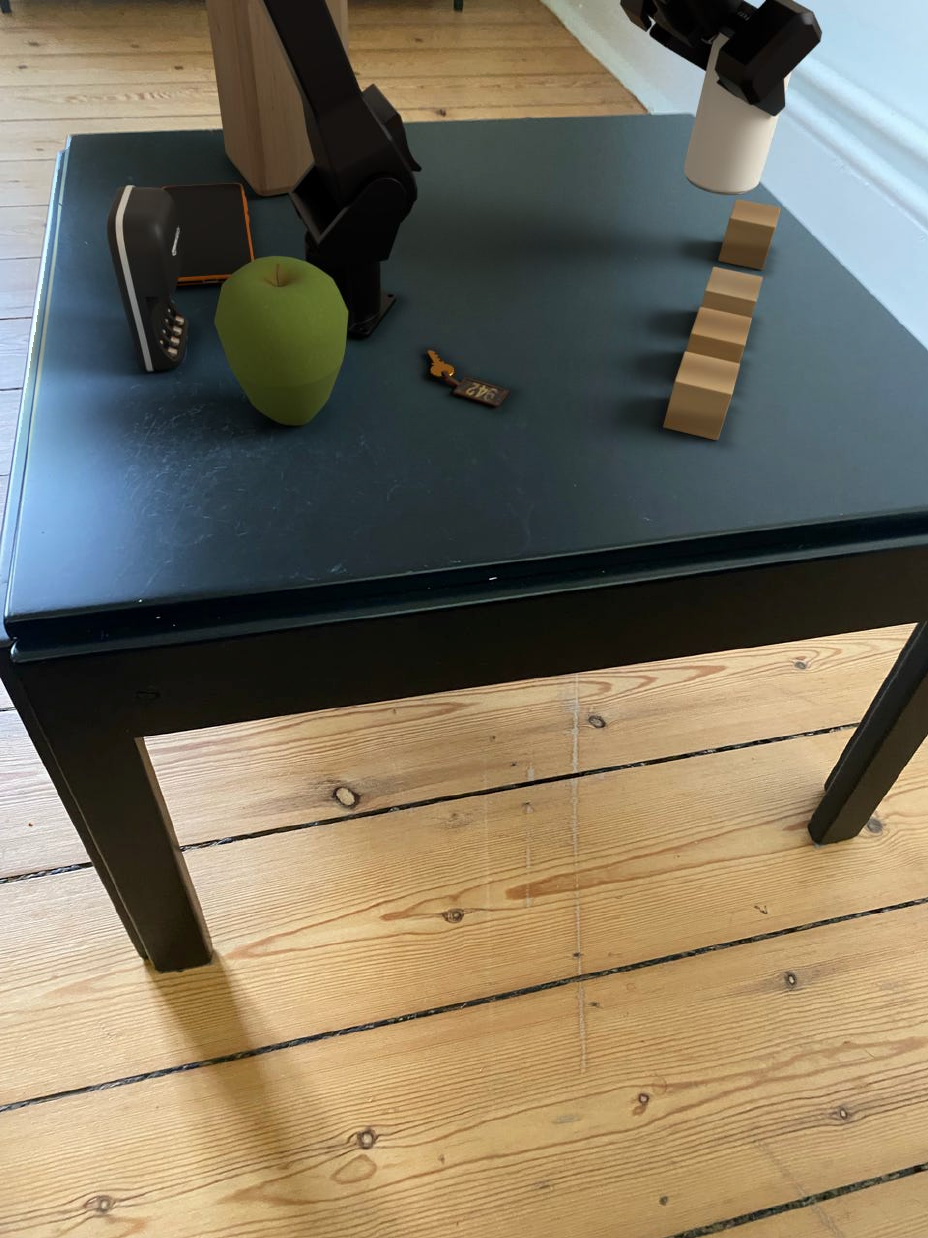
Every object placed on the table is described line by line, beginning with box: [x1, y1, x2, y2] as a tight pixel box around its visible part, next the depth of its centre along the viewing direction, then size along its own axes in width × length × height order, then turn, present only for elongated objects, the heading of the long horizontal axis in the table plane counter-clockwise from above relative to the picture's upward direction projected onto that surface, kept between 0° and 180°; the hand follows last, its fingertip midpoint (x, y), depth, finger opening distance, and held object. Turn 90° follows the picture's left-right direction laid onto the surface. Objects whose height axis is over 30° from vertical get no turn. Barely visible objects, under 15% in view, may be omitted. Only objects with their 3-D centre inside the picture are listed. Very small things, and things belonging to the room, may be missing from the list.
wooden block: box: [205, 0, 350, 197], centre depth 85 cm, size 10×10×20 cm
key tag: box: [427, 349, 510, 408], centre depth 71 cm, size 8×3×1 cm, turn 51°
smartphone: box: [161, 182, 255, 286], centre depth 83 cm, size 8×17×1 cm, turn 12°
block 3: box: [685, 306, 753, 364], centre depth 72 cm, size 4×4×4 cm
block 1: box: [717, 198, 781, 271], centre depth 85 cm, size 4×4×4 cm
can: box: [683, 32, 793, 196], centre depth 77 cm, size 6×6×12 cm
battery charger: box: [106, 184, 190, 372], centre depth 68 cm, size 7×4×11 cm, turn 4°
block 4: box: [662, 351, 741, 441], centre depth 68 cm, size 4×4×4 cm
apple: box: [213, 255, 348, 427], centre depth 63 cm, size 9×8×12 cm
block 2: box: [700, 266, 764, 319], centre depth 76 cm, size 4×4×4 cm
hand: (756, 94), depth 76 cm, fingers closed on can, 6 cm apart
